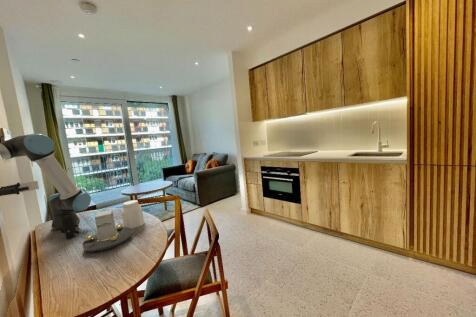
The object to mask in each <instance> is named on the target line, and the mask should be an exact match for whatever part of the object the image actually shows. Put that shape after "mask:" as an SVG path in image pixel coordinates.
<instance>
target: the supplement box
mask: <svg viewBox="0 0 476 317" xmlns="http://www.w3.org/2000/svg"><path fill="white" fill-rule="evenodd" d="M94 222H95V228H96V234H97V233H98V238H99V240H102V239H106V238H110V237H111V236H114V235H115V234H116V221H115V216H114V210H113V209H110V210H105V211H99V212H96V215H95V216H94Z"/></svg>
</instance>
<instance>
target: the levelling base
mask: <svg viewBox="0 0 476 317" xmlns="http://www.w3.org/2000/svg"><path fill="white" fill-rule="evenodd" d="M115 227H116V234H115V235H114V236H111V237H110V238H106V239H102V240H99V238H98V233H97V232H96V233H95V234H92V235H91V234H90V235H87V236H85V240H84V241H83V242H82V248H83V251H84V252H85V251H86V252H87V253H88V252H89V253H98V252H101V251H105V250H108V249H112V248H114V247H117V246H119V245H121V244H123V243H124V242H126V241H127V240H129V239H130V238H131V236H132V234H133V232H132V229H130V228H128V227H124V225H123V223H121V224H118V225H115Z"/></svg>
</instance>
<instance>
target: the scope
mask: <svg viewBox="0 0 476 317" xmlns="http://www.w3.org/2000/svg"><path fill="white" fill-rule="evenodd" d="M72 216H73V214H72V213H71V214H65V215H62V216H61V219H62V220H61V221H62V227H63V229H61V230H59V231H60V233H61V234H63V235H65V236H66V240H73V239H75V238H76V235H78V234H79V233H80V230H81V227H80V224H79V223H78V221H76V222H77V224H76V225H75V224H74V220H73V217H72Z"/></svg>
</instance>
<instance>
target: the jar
mask: <svg viewBox="0 0 476 317" xmlns="http://www.w3.org/2000/svg"><path fill="white" fill-rule="evenodd" d="M122 206H123V208H122V210H121V218H122V225H123V227H128V228H130V229H131V230H132V229H134V228H140V227H142V226H143V225H144V224H145V219H144V213H143V207H142V206H141V205H140V204H139V200H137V199H135V200H134V199H133V200H128V201H125V202H124V203H122Z"/></svg>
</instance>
